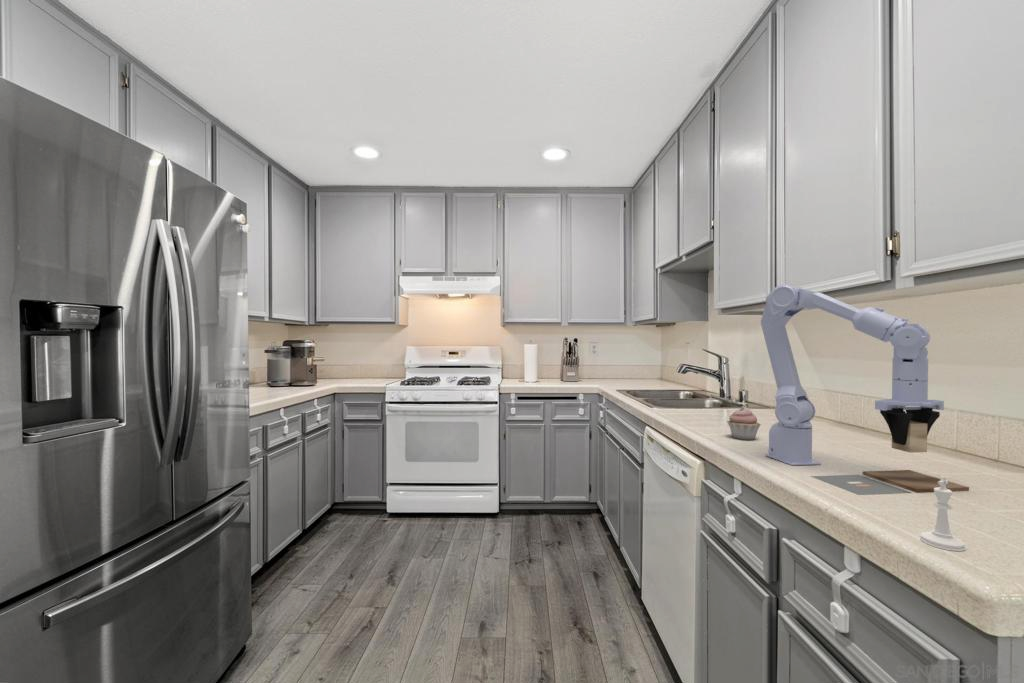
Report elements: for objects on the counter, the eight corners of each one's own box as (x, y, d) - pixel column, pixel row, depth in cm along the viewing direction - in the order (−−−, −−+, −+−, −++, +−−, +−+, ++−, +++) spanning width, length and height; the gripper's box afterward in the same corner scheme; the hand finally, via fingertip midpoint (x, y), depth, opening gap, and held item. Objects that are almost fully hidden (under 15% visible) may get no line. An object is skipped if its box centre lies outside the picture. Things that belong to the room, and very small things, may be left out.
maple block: (891, 448, 97) (892, 420, 97) (907, 447, 98) (908, 420, 98) (910, 452, 93) (910, 423, 93) (926, 452, 94) (927, 423, 94)
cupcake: (721, 434, 143) (721, 403, 143) (751, 435, 143) (751, 403, 143) (734, 441, 134) (735, 408, 134) (766, 441, 134) (767, 408, 134)
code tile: (810, 476, 99) (810, 476, 99) (858, 475, 101) (858, 474, 101) (858, 495, 88) (858, 494, 88) (912, 493, 89) (912, 492, 89)
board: (862, 475, 101) (862, 471, 101) (909, 473, 103) (909, 470, 103) (917, 493, 89) (917, 489, 89) (968, 491, 91) (969, 487, 91)
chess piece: (912, 539, 68) (913, 473, 68) (931, 534, 70) (932, 470, 70) (953, 553, 64) (954, 483, 64) (973, 548, 66) (974, 480, 65)
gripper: (897, 381, 91) (897, 448, 91) (960, 381, 93) (959, 447, 93) (866, 378, 98) (865, 440, 98) (924, 378, 100) (923, 439, 100)
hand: (908, 443), depth 96 cm, fingers closed on maple block, 4 cm apart
